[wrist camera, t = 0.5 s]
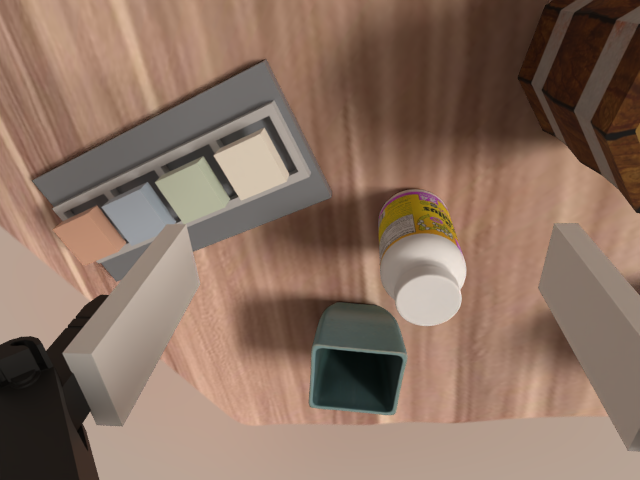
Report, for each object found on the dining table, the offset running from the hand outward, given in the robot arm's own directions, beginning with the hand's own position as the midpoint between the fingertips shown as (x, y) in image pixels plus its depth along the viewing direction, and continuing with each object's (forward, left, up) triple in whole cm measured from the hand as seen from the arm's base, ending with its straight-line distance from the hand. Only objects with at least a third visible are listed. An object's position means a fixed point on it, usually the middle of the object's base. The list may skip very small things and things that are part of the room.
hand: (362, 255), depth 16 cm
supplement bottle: (+12, 0, -25) cm, 27 cm away
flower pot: (+22, -10, -25) cm, 35 cm away
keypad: (0, -19, -24) cm, 31 cm away
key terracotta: (0, -28, -21) cm, 35 cm away
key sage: (0, -16, -21) cm, 26 cm away
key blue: (0, -22, -21) cm, 30 cm away
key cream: (0, -10, -21) cm, 23 cm away
